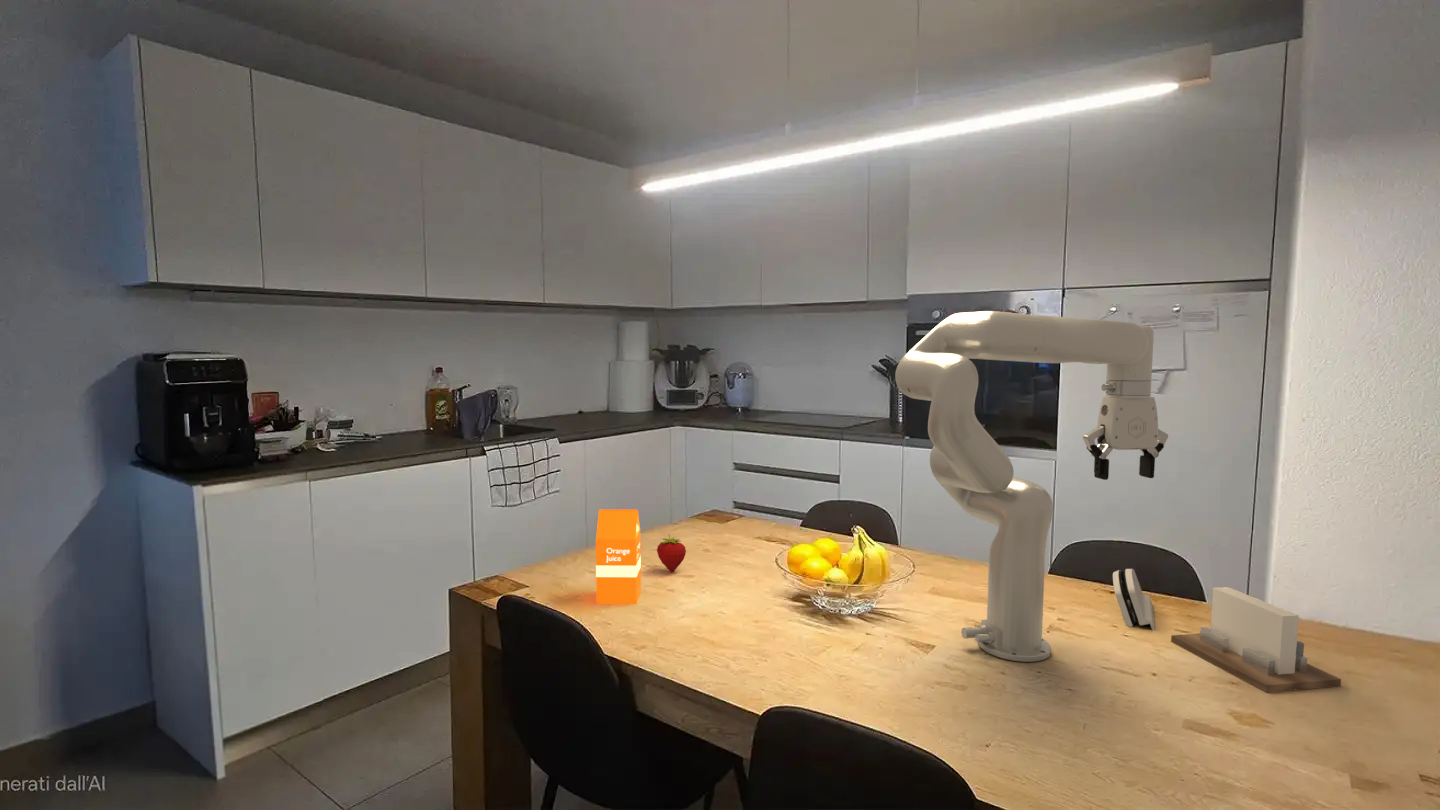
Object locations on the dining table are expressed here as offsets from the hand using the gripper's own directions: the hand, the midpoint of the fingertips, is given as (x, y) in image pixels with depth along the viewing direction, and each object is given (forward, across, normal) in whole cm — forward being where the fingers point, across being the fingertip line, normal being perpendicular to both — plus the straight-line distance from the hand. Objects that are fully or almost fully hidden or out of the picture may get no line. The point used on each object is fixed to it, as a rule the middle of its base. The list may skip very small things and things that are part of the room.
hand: (1123, 477), depth 139 cm
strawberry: (+31, -84, +49) cm, 102 cm away
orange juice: (+31, -97, +33) cm, 107 cm away
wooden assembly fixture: (+30, +13, -17) cm, 37 cm away
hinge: (+31, +9, +7) cm, 33 cm away
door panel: (+29, +13, -17) cm, 36 cm away
